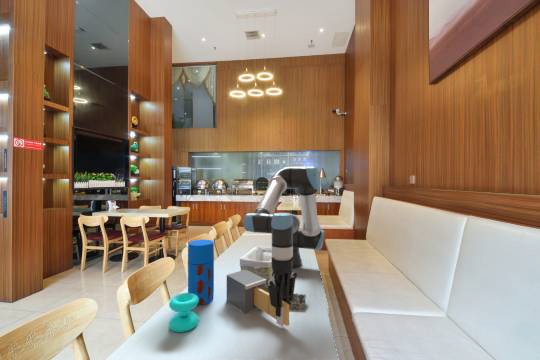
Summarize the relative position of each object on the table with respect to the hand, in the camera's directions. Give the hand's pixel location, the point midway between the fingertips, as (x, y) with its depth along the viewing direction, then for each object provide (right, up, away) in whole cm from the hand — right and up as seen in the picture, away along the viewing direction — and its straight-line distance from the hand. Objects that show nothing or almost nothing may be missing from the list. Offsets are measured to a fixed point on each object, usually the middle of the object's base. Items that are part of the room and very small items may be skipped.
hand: (282, 323), depth 90 cm
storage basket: (-8, -2, +40) cm, 41 cm away
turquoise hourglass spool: (-35, -2, +1) cm, 35 cm away
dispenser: (-15, -1, +17) cm, 23 cm away
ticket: (-5, +1, +6) cm, 8 cm away
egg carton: (+5, -2, +17) cm, 18 cm away
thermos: (-34, -1, +20) cm, 40 cm away
